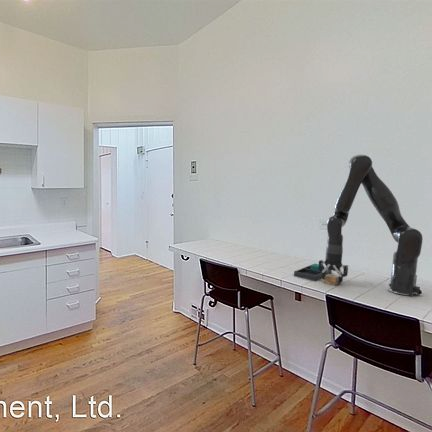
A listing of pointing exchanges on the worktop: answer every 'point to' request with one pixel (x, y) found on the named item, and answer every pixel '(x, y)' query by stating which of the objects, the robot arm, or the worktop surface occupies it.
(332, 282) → the tan rounded lump
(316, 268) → the teal block
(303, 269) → the dark grey compartment tray
